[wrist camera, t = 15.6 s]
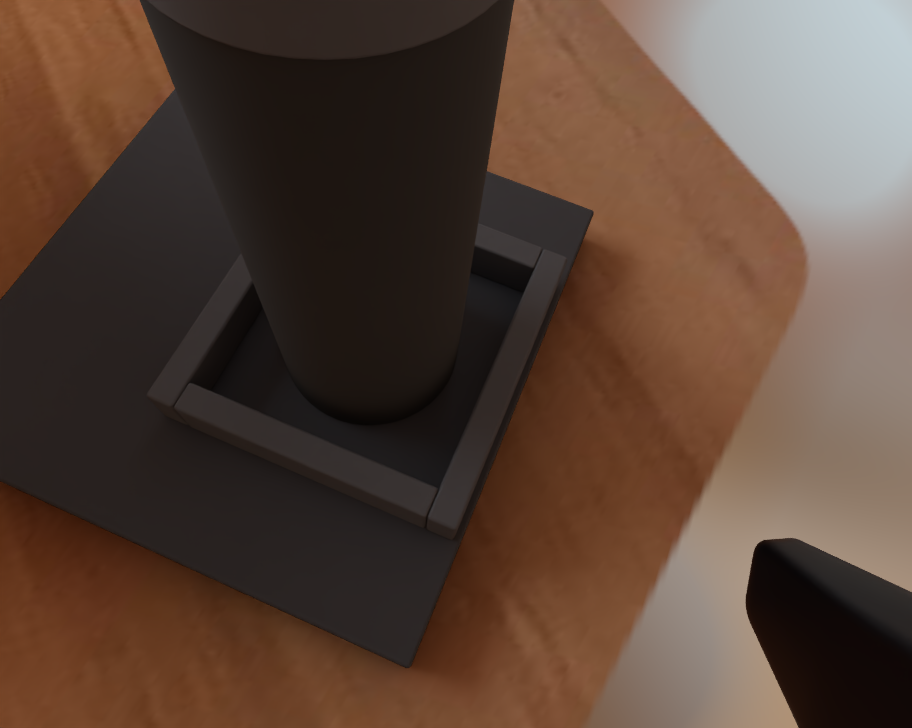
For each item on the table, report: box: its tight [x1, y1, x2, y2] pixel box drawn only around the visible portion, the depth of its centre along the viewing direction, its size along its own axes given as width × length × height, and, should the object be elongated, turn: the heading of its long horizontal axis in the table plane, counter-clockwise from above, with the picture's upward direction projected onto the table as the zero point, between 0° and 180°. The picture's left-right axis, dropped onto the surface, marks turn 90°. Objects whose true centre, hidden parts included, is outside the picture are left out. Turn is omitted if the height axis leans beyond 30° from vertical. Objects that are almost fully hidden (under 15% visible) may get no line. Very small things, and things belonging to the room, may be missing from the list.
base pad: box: [0, 89, 593, 668], centre depth 20 cm, size 15×15×3 cm
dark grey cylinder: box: [140, 0, 514, 425], centre depth 13 cm, size 5×5×14 cm
